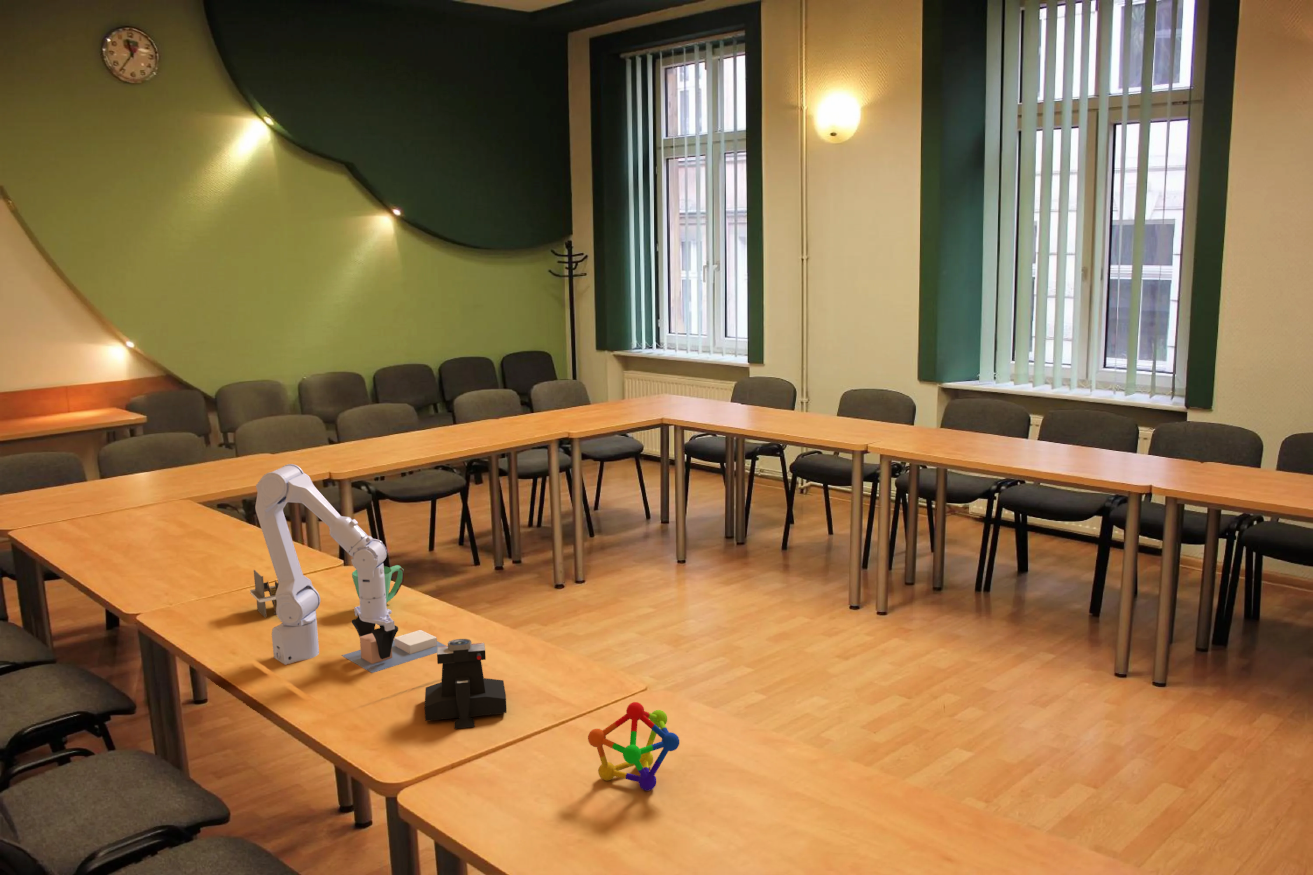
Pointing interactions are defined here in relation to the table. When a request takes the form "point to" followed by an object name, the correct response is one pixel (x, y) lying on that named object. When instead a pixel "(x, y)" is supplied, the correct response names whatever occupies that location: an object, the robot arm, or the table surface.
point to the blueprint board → (401, 651)
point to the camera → (463, 686)
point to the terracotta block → (370, 649)
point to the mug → (386, 581)
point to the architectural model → (260, 595)
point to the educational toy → (632, 752)
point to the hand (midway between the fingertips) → (376, 652)
